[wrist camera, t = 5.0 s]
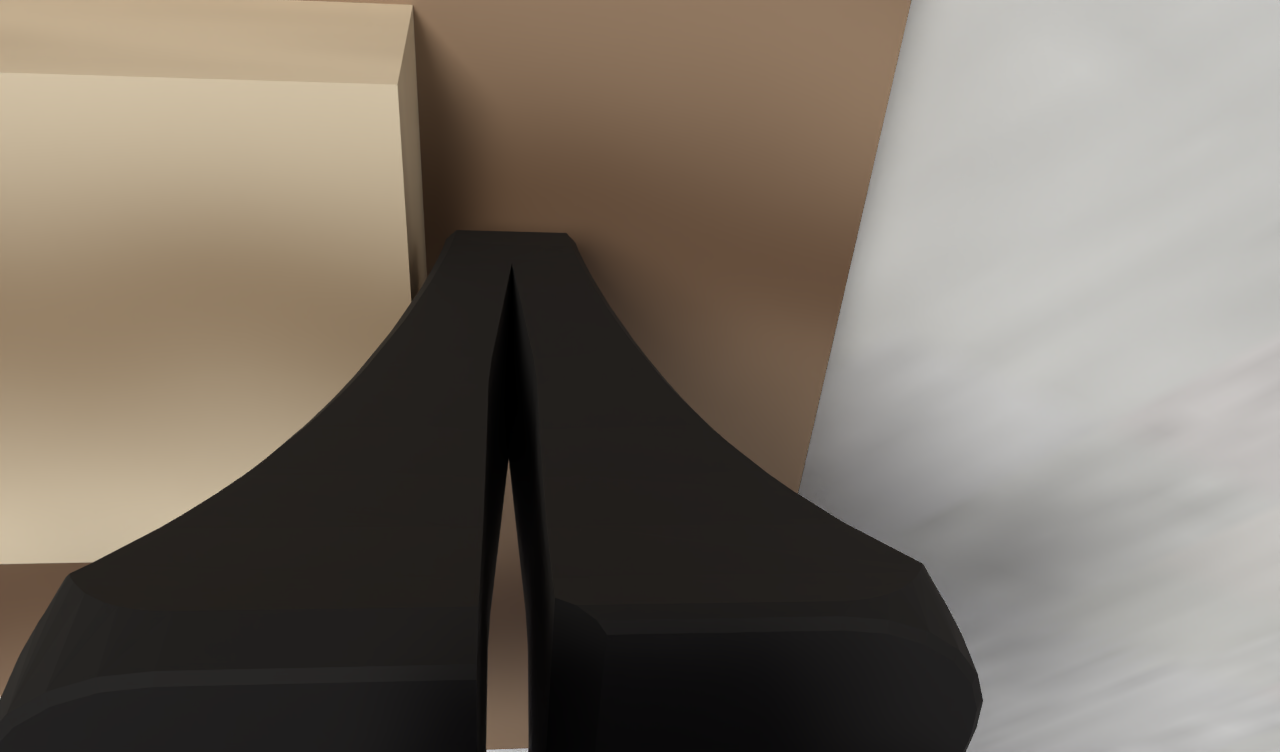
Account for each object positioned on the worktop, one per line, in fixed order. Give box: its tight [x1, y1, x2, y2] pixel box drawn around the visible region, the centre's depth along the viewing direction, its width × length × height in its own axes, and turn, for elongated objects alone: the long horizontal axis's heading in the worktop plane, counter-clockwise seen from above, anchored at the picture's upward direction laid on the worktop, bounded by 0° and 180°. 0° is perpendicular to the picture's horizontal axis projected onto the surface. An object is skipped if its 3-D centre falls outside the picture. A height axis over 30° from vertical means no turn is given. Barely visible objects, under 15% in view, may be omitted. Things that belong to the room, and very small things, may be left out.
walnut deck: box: [0, 0, 911, 750], centre depth 14 cm, size 20×12×2 cm, turn 175°
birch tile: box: [0, 0, 427, 564], centre depth 12 cm, size 6×8×2 cm
